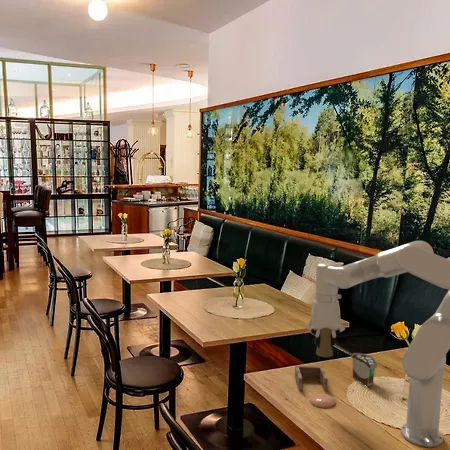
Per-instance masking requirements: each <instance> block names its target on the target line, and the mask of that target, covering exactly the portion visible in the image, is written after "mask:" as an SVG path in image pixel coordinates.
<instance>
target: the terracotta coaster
mask: <svg viewBox="0 0 450 450" xmlns="http://www.w3.org/2000/svg"><path fill="white" fill-rule="evenodd" d="M309 403H310V404H311V405H312V406H315V407H316V408H317V407H318V408H320V409H321V408H323V409H327V408H332V407H334V406H335V403H336V399H335V397H334V396H332V395H330V394H326V393H322V392H321V393H318V392H317V393H313V394H310V396H309Z"/></svg>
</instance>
